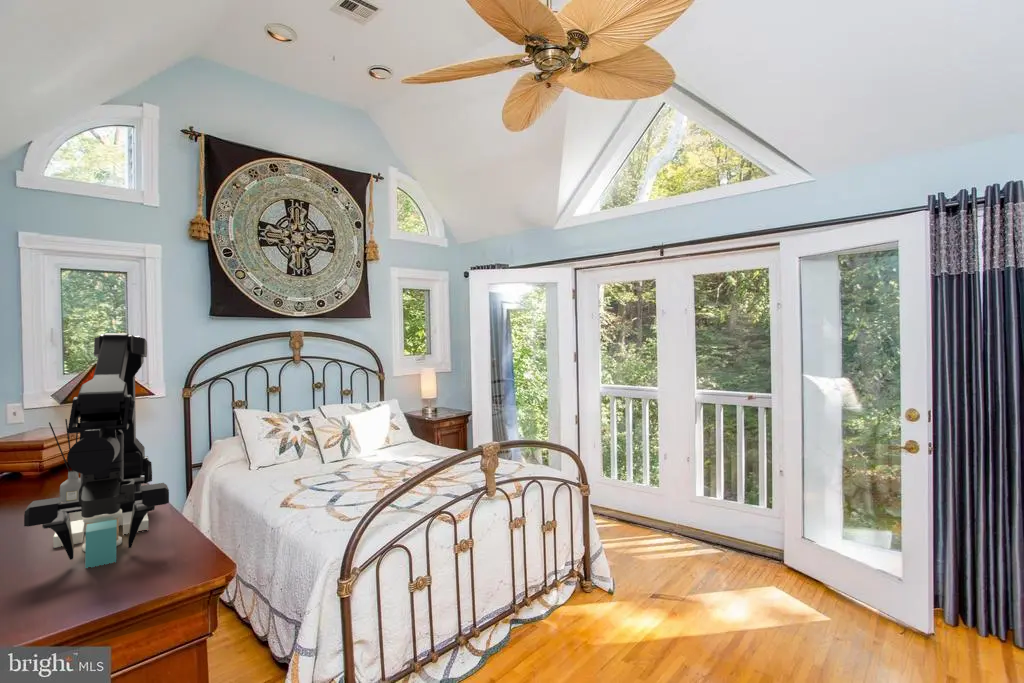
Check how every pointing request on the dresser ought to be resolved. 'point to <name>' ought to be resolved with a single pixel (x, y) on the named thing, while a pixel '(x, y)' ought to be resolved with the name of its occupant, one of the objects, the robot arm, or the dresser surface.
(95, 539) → the teal rectangular block
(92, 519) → the bobbin
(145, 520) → the notched board
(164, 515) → the dresser surface
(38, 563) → the dresser surface
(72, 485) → the reed diffuser
